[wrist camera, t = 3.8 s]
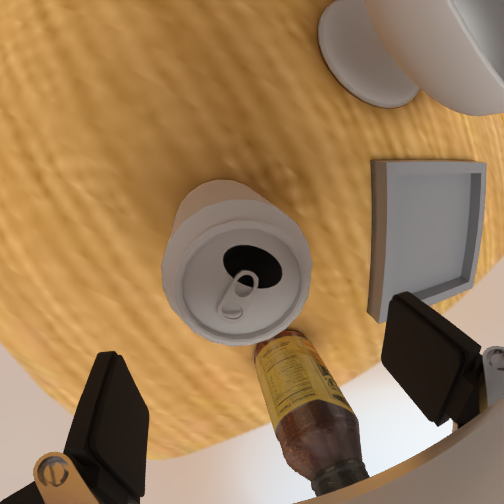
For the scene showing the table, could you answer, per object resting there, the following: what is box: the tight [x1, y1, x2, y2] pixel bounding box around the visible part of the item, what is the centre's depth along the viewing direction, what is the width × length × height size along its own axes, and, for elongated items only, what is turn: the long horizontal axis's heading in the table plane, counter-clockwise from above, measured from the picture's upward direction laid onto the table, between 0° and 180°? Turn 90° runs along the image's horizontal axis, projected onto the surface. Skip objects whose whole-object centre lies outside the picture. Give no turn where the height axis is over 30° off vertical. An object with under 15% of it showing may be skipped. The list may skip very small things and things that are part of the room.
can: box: [161, 180, 312, 346], centre depth 18 cm, size 8×8×12 cm
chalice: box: [318, 0, 504, 116], centre depth 13 cm, size 14×14×15 cm
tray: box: [367, 159, 486, 324], centre depth 27 cm, size 16×16×2 cm
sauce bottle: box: [255, 331, 370, 497], centre depth 20 cm, size 7×6×20 cm
